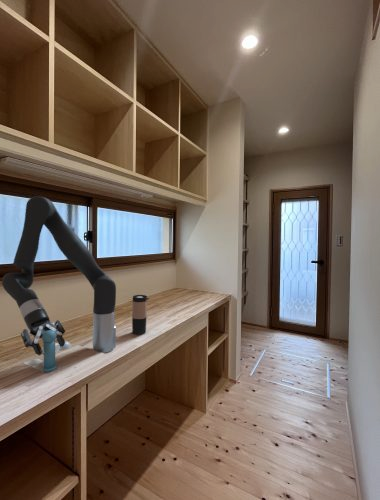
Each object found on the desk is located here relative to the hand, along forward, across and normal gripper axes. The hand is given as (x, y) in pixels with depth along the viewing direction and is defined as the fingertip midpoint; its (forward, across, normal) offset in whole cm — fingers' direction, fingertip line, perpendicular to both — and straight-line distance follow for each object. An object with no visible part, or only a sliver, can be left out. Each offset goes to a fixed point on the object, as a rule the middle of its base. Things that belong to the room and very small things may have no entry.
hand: (52, 349), depth 93 cm
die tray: (-3, +13, +18) cm, 22 cm away
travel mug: (+6, +50, +7) cm, 51 cm away
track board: (+2, 0, +11) cm, 11 cm away
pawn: (+4, 0, +6) cm, 8 cm away
